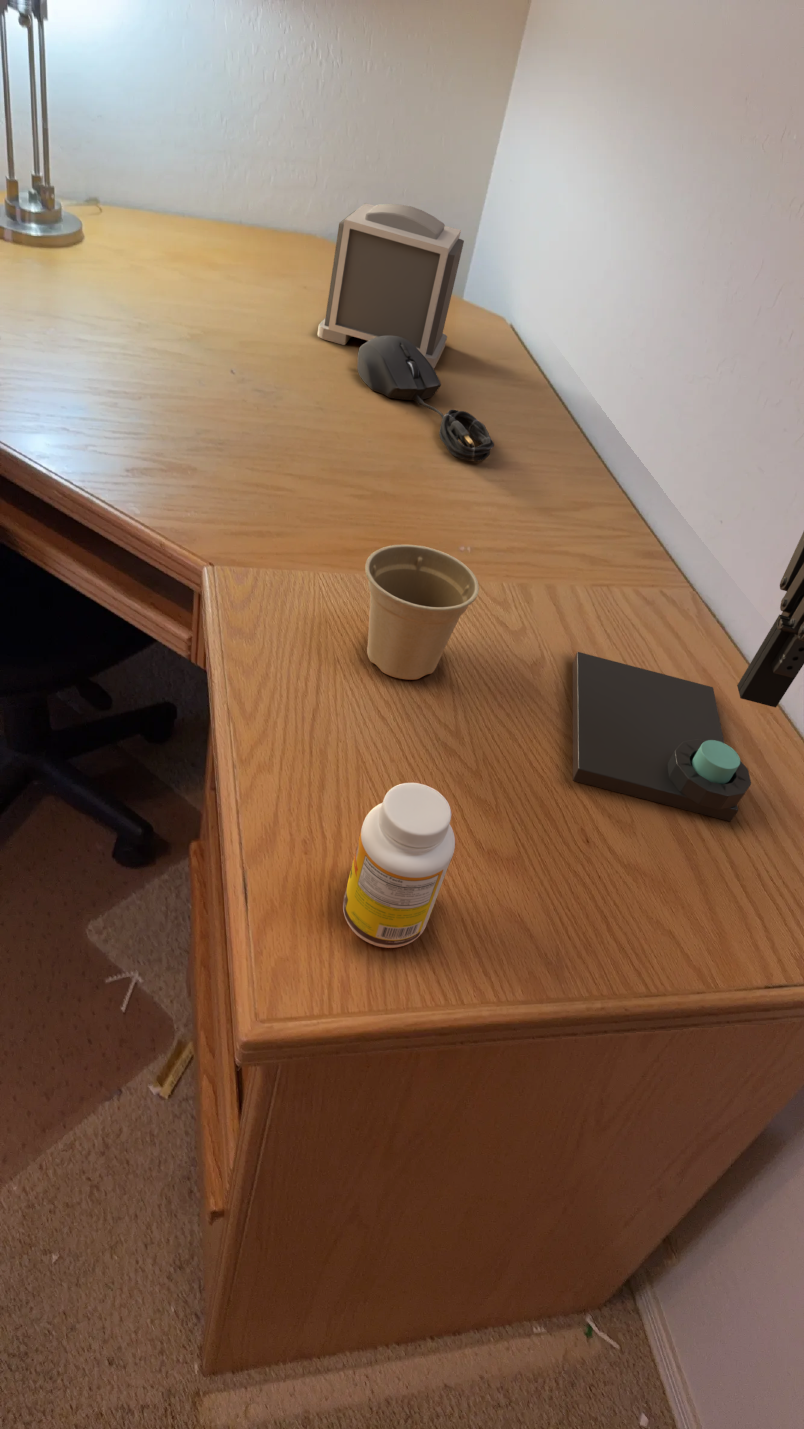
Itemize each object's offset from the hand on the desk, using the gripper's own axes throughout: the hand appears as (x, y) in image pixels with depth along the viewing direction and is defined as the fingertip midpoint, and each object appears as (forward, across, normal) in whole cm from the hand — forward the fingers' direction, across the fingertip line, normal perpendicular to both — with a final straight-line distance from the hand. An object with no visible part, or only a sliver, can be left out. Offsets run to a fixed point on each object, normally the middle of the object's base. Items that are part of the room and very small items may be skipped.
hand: (756, 696), depth 64 cm
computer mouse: (+11, -64, -32) cm, 72 cm away
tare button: (+8, 0, 0) cm, 8 cm away
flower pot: (+11, -8, -26) cm, 29 cm away
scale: (+10, -6, -4) cm, 12 cm away
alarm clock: (+11, -86, -41) cm, 96 cm away
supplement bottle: (+11, +20, -23) cm, 32 cm away
